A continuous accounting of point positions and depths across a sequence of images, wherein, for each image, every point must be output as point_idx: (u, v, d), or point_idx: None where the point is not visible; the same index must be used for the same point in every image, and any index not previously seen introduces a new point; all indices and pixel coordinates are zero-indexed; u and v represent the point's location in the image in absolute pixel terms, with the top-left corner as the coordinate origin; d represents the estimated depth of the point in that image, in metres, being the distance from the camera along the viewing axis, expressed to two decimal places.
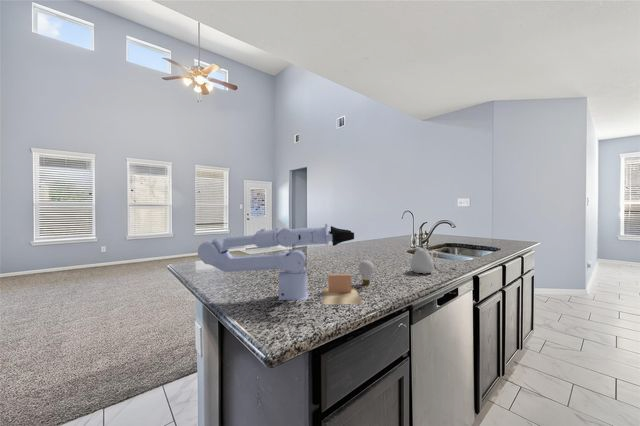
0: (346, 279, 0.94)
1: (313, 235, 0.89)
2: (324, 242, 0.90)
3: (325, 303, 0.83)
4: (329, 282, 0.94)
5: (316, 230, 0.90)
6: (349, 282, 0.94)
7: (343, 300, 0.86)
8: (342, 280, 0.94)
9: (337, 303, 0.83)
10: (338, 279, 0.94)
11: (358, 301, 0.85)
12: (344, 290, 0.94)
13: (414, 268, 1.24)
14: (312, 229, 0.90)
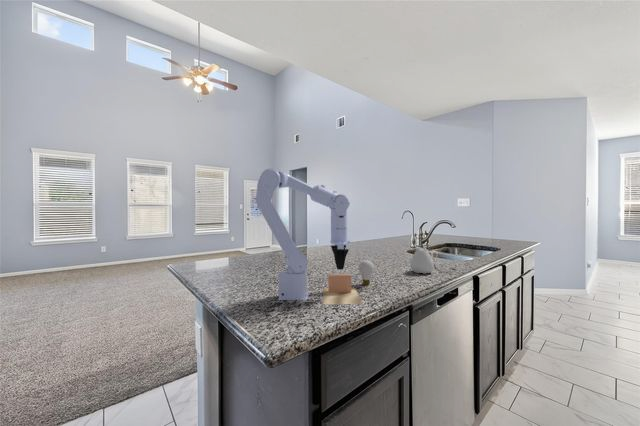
0: (346, 279, 0.94)
1: (341, 230, 0.93)
2: (333, 240, 0.93)
3: (325, 303, 0.83)
4: (329, 282, 0.94)
5: (345, 232, 0.93)
6: (349, 282, 0.94)
7: (343, 300, 0.86)
8: (342, 280, 0.94)
9: (337, 303, 0.83)
10: (338, 279, 0.94)
11: (358, 301, 0.85)
12: (344, 290, 0.94)
13: (414, 268, 1.24)
14: (346, 228, 0.94)
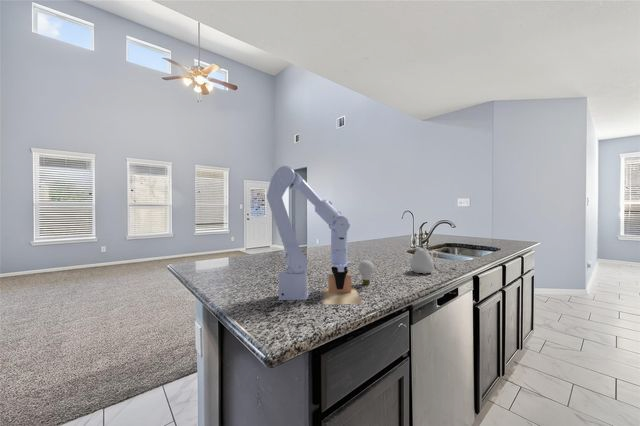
0: (346, 279, 0.94)
1: (341, 251, 0.93)
2: (333, 261, 0.93)
3: (325, 303, 0.83)
4: (329, 282, 0.94)
5: (345, 254, 0.94)
6: (349, 282, 0.94)
7: (343, 300, 0.86)
8: None
9: (337, 303, 0.83)
10: None
11: (358, 301, 0.85)
12: (344, 290, 0.94)
13: (414, 268, 1.24)
14: (346, 250, 0.94)
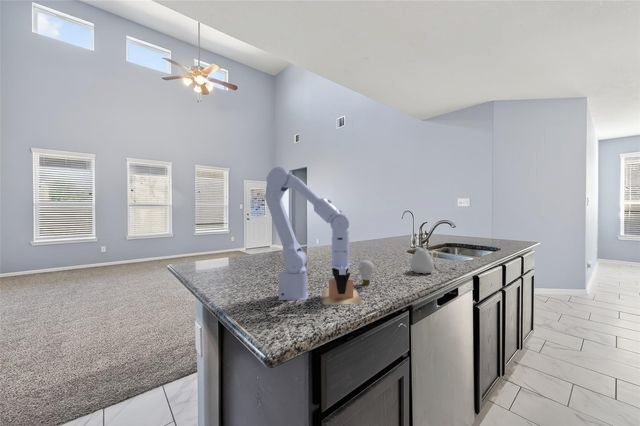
0: (348, 284, 0.88)
1: (342, 253, 0.87)
2: (334, 263, 0.87)
3: (325, 303, 0.83)
4: (329, 286, 0.88)
5: (347, 255, 0.88)
6: (351, 287, 0.88)
7: (343, 300, 0.86)
8: None
9: (337, 303, 0.83)
10: None
11: (358, 301, 0.85)
12: (346, 295, 0.88)
13: (414, 268, 1.24)
14: (348, 251, 0.88)
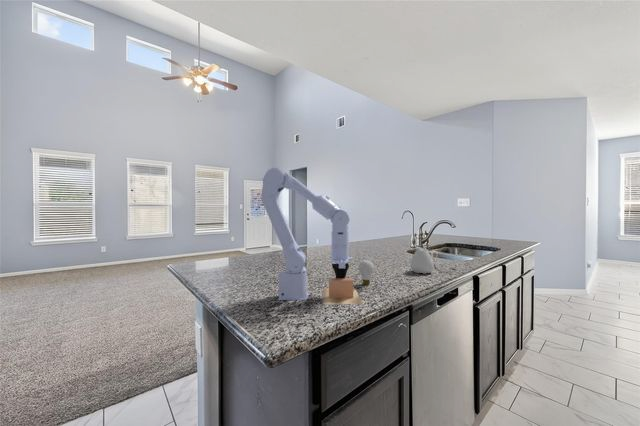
0: (348, 284, 0.88)
1: (342, 247, 0.88)
2: (334, 257, 0.89)
3: (325, 303, 0.83)
4: (329, 287, 0.88)
5: (347, 250, 0.89)
6: (351, 287, 0.88)
7: (343, 300, 0.86)
8: (344, 285, 0.88)
9: (337, 303, 0.83)
10: (339, 284, 0.88)
11: (358, 301, 0.85)
12: (346, 295, 0.88)
13: (414, 268, 1.24)
14: (347, 245, 0.90)
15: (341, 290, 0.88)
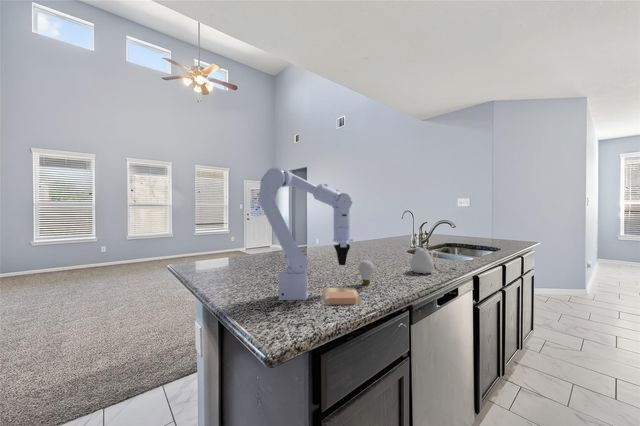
0: None
1: (343, 228, 0.93)
2: (336, 238, 0.94)
3: (325, 303, 0.83)
4: None
5: (348, 231, 0.94)
6: None
7: None
8: None
9: None
10: None
11: (358, 301, 0.85)
12: None
13: (414, 268, 1.24)
14: (348, 227, 0.95)
15: None
